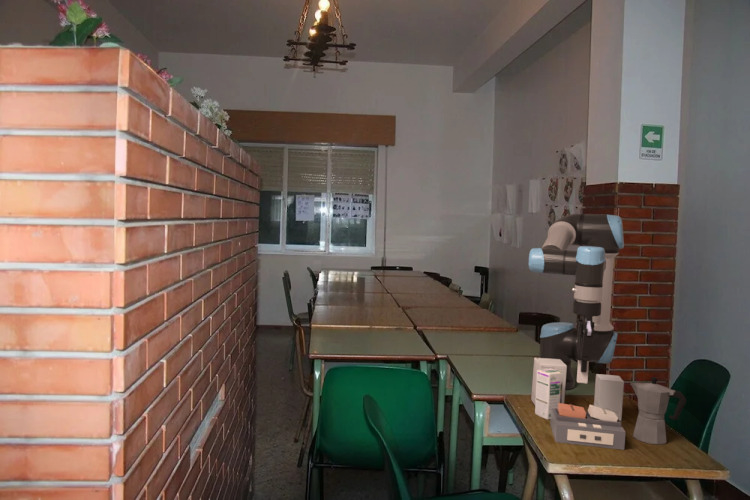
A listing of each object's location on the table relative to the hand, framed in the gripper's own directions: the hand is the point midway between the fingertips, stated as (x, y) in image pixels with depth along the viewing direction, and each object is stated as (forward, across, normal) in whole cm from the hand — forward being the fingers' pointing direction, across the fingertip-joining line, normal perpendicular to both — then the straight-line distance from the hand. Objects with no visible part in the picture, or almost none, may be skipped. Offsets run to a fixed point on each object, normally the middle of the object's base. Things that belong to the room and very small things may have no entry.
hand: (581, 382), depth 166 cm
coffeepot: (+16, -3, +21) cm, 27 cm away
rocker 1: (+9, 0, -2) cm, 9 cm away
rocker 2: (+9, 0, +6) cm, 11 cm away
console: (+16, 0, +2) cm, 16 cm away
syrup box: (+16, -15, -7) cm, 23 cm away
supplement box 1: (+16, -26, -6) cm, 31 cm away
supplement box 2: (+16, -21, +12) cm, 29 cm away
